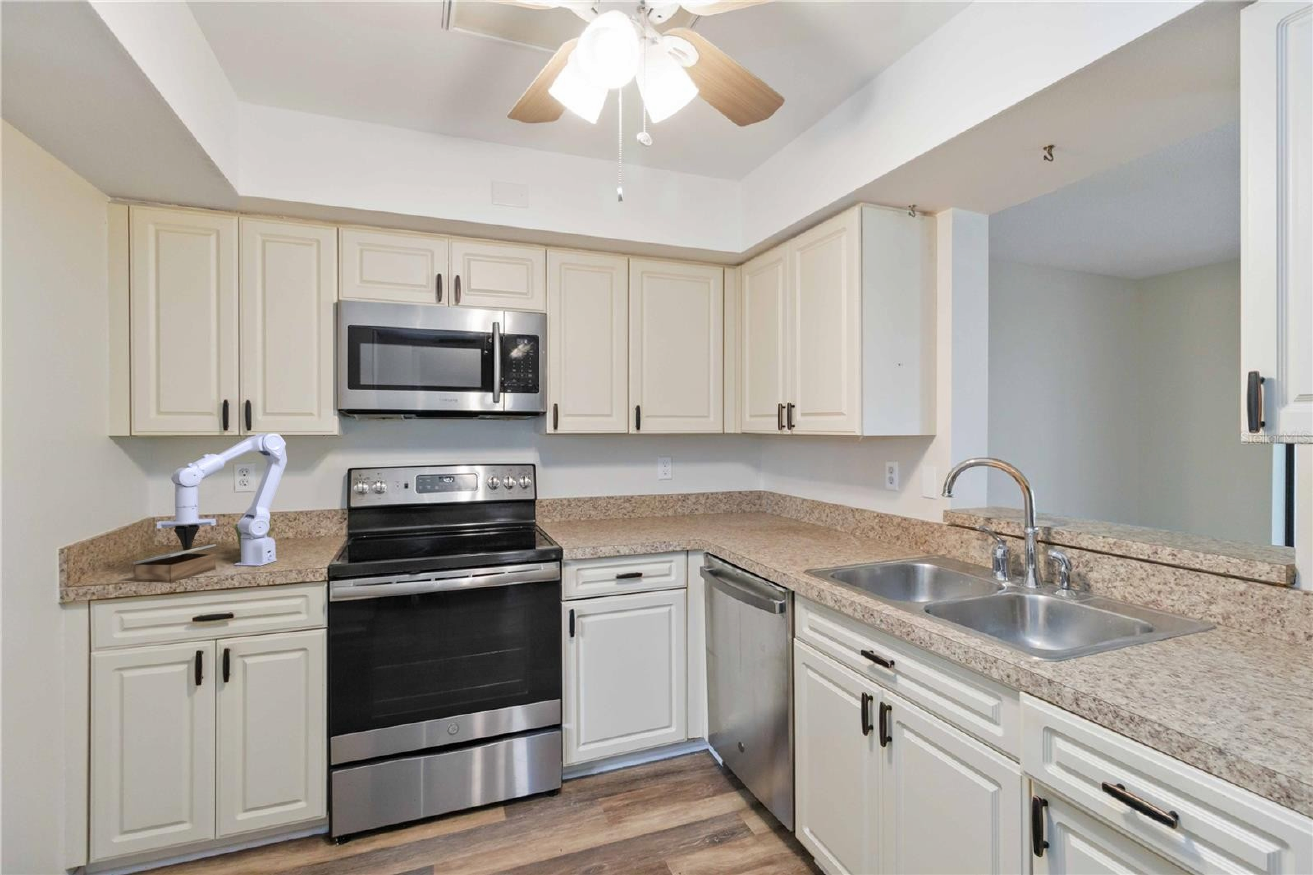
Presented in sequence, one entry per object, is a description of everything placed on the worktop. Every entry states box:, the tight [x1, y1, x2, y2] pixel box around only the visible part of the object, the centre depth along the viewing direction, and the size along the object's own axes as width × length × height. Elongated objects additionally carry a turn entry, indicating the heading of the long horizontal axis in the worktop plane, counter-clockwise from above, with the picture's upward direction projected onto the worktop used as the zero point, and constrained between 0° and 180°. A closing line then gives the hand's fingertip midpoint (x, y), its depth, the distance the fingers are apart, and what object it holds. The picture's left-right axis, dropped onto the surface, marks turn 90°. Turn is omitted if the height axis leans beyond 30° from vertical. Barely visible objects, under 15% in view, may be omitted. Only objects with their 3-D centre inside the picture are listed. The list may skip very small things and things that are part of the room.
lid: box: [132, 543, 217, 565], centre depth 186 cm, size 12×16×1 cm
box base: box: [133, 552, 217, 583], centre depth 186 cm, size 12×16×5 cm
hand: (187, 549), depth 186 cm, fingers closed
